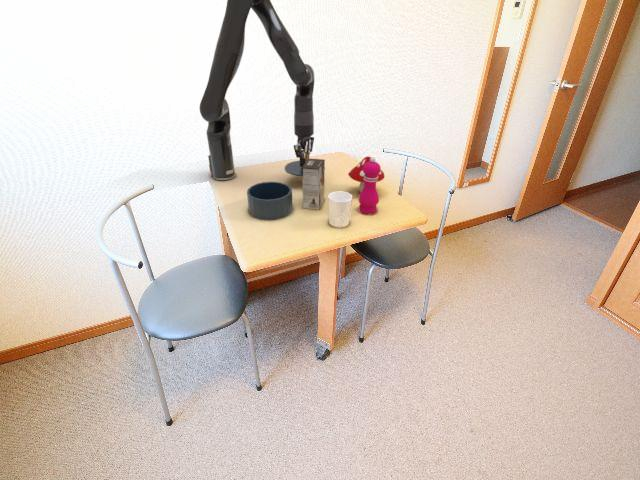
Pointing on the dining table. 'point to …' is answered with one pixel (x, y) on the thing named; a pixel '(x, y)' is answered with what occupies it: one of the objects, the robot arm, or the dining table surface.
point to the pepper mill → (369, 188)
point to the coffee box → (313, 183)
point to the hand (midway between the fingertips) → (304, 164)
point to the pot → (269, 200)
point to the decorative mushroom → (362, 173)
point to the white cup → (339, 208)
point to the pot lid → (295, 167)
